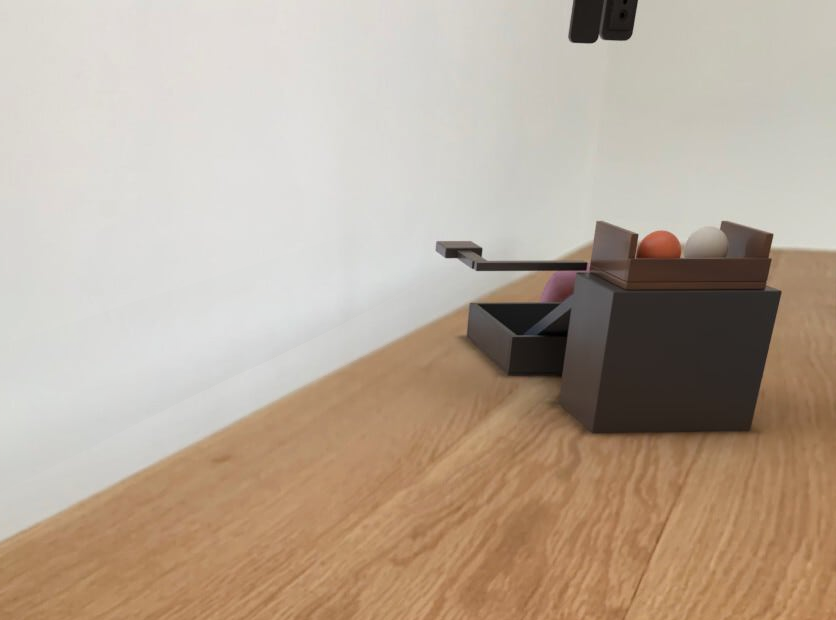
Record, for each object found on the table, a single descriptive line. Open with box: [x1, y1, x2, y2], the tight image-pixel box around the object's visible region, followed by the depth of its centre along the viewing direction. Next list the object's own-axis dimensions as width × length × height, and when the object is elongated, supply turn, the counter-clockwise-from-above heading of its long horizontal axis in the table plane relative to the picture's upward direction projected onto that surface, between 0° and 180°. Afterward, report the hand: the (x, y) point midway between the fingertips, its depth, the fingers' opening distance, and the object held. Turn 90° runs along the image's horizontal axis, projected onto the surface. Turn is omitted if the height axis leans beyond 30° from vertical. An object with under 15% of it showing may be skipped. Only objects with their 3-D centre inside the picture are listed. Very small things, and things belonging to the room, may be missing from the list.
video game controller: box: [538, 262, 591, 302], centre depth 117 cm, size 10×5×7 cm, turn 65°
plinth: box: [558, 272, 783, 435], centre depth 82 cm, size 8×12×10 cm
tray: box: [466, 301, 568, 377], centre depth 103 cm, size 16×15×4 cm
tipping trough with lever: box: [435, 220, 774, 290], centre depth 83 cm, size 19×20×4 cm
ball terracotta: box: [635, 229, 682, 258], centre depth 77 cm, size 3×3×3 cm
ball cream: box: [683, 225, 728, 258], centre depth 80 cm, size 3×3×3 cm
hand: (597, 41), depth 82 cm, fingers open, 8 cm apart
